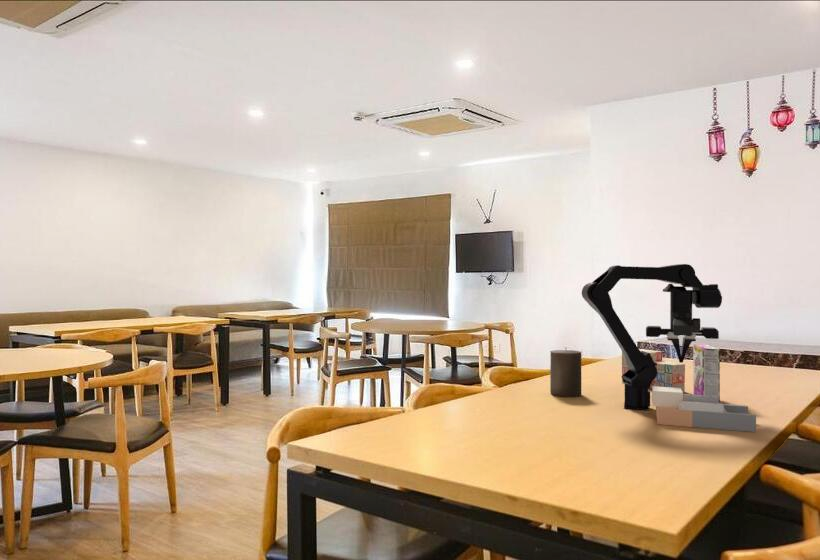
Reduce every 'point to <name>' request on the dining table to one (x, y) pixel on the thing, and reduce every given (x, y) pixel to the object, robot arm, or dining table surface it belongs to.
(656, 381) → the stack of blocks
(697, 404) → the channel walls
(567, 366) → the pillar candle
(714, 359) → the candy bar box
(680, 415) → the grey piece
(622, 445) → the dining table surface
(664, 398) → the cream block
